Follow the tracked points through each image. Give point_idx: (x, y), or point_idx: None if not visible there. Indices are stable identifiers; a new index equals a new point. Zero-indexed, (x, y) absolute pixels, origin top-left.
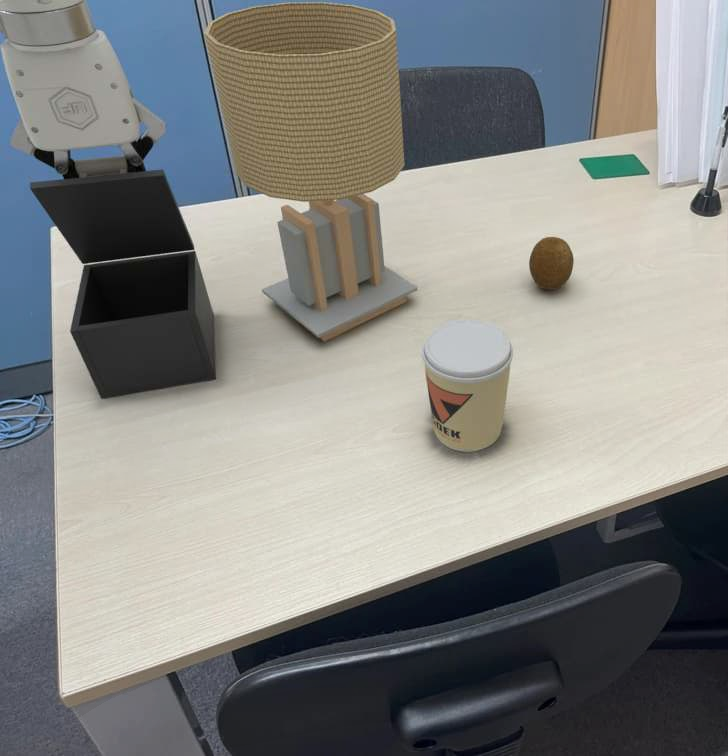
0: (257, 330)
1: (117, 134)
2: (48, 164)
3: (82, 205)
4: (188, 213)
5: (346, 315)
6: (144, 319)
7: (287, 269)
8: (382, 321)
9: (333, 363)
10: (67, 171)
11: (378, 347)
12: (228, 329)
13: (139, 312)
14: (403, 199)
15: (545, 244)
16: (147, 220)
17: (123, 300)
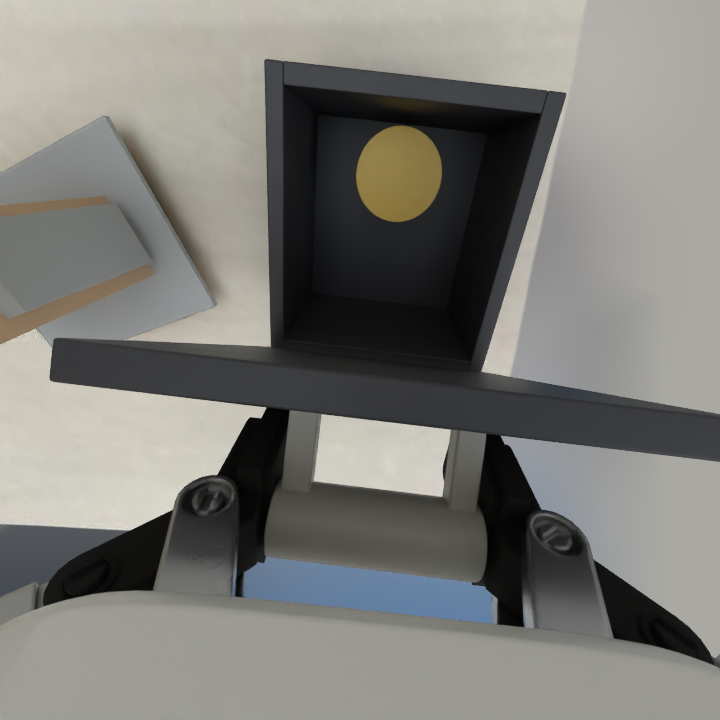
0: (238, 227)
1: (90, 703)
2: (613, 577)
3: (485, 380)
4: None
5: (56, 164)
6: (389, 76)
7: (117, 270)
8: None
9: (99, 61)
10: (530, 519)
11: (19, 82)
12: None
13: (406, 311)
14: (40, 473)
15: None
16: (311, 355)
17: (425, 323)
